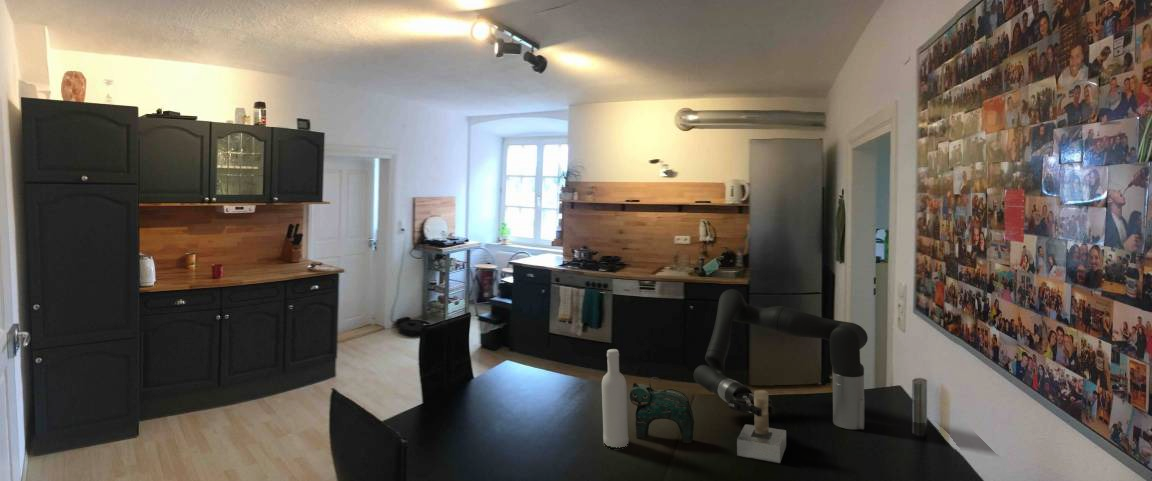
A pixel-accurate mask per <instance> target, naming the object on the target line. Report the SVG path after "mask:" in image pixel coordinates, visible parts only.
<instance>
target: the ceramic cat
mask: <svg viewBox="0 0 1152 481" xmlns="http://www.w3.org/2000/svg"><path fill="white" fill-rule="evenodd" d="M653 379H656V380H657V381H659V382H660V383H661V379H660V378H659V377H655V376H653V377H651V378H650V379H649V385H647V384H644V383H639V384H637V383H636V382H634V383H633V384H632V389H631V391H630V392H629V400H630V402H631V403H632V404H633V405H634V406H637V407H636V409H635V422H634V423H635V432H636V433H635V435H636V437H638V438H637V439H641V438H645V439H646V437H647V438H648V435H649V428H650V425H651V423H652V422H653V421H656V420H664V419H665V420H669V421H673V422H674V423H676V425H677V426H678V429H679V431H680V435H681V442H682V443H684V444H692V442H693V439H694V430H695V418H694V413H693V410H692V406H691V404H690V399H689V398H688V396H687V395H686V393H685V392H683V391H682V390H678V389H674V388H667V389H663V390H656V389H653V388H652V386H651V385H652V384H651V380H653Z"/></svg>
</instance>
